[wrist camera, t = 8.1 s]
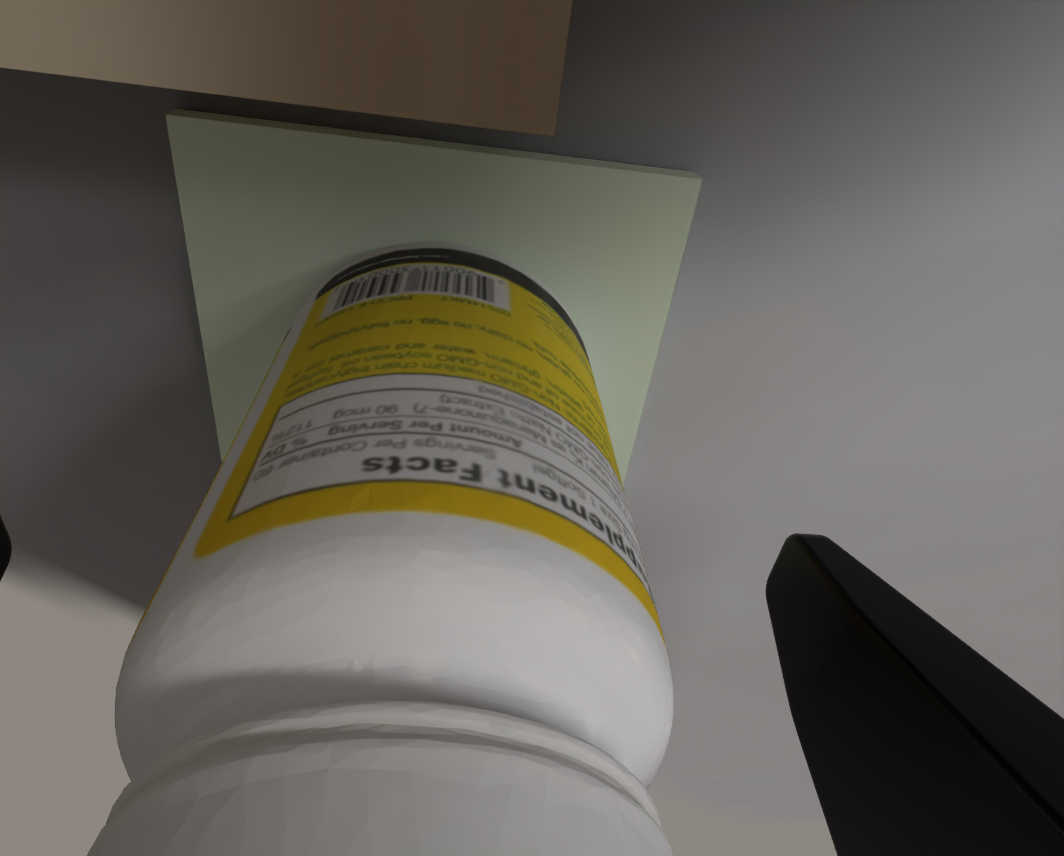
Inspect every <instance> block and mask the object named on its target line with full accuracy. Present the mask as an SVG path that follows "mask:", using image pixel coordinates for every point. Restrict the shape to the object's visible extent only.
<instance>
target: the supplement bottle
mask: <svg viewBox="0 0 1064 856" xmlns="http://www.w3.org/2000/svg"><path fill="white" fill-rule="evenodd" d="M673 703H674V702H673V684H672V677H671V670H670V664H669V658H668V653H667V649H666V645H665V642H664V638H663V634H662V630H661V626H660V622H659V618H658V614H657V610H656V607H655V603H654V599H653V595H652V591H651V587H650V583H649V580H648V576H647V573H646V569H645V565H644V562H643V558H642V554H641V550H640V546H639V542H638V538H637V535H636V531H635V528H634V524H633V521H632V517H631V514H630V511H629V507H628V503H627V500H626V496H625V492H624V488H623V485H622V481H621V477H620V474H619V470H618V466H617V462H616V458H615V454H614V450H613V447H612V443H611V439H610V436H609V432H608V428H607V424H606V420H605V416H604V412H603V408H602V405H601V401H600V398H599V395H598V391H597V387H596V383H595V380H594V376H593V373H592V370H591V365H590V361H589V358H588V355H587V352H586V349H585V346H584V343H583V340H582V337H581V335H580V333H579V330H578V328H577V327H576V325H575V323H574V321H573V319H572V317H571V316H570V314H569V312H568V311H567V309H566V308H565V307H564V305H563V304H562V303H561V301H560V300H559V299H558V298H557V297H556V296H555V295H554V293H553V292H552V291H551V290H550V289H549V288H547V287H546V286H545V285H544V284H543V283H542V282H541V281H539V280H538V279H537V278H536V277H535V276H533V275H532V274H530V273H528V272H527V271H525V270H524V269H522V268H521V267H519V266H518V265H516V264H514V263H512V262H510V261H508V260H506V259H505V258H502V257H500V256H497V255H495V254H493V253H490V252H487V251H484V250H481V249H478V248H475V247H472V246H466V245H461V244H456V243H448V242H414V243H407V244H400V245H394V246H390V247H386V248H383V249H379V250H376V251H374V252H371V253H369V254H366V255H364V256H362V257H359V258H357V259H355V260H353V261H352V262H350V263H348V264H347V265H345V266H343V267H342V268H340V269H339V270H337V271H336V272H335V273H333V274H332V275H331V276H329V277H328V278H327V279H326V280H325V281H323V282H322V283H321V284H320V286H319V287H318V288H317V289H316V290H315V291H314V292H313V293H312V294H311V295H310V296H309V298H308V299H307V300H306V302H305V303H304V305H303V306H302V308H301V309H300V311H299V312H298V314H297V316H296V318H295V320H294V321H293V323H292V325H291V327H290V329H289V331H288V333H287V335H286V336H285V338H284V340H283V342H282V345H281V346H280V348H279V350H278V351H277V353H276V356H275V358H274V360H273V363H272V365H271V367H270V368H269V370H268V372H267V374H266V376H265V378H264V380H263V382H262V384H261V386H260V388H259V391H258V393H257V395H256V397H255V399H254V401H253V403H252V405H251V407H250V409H249V411H248V413H247V415H246V417H245V419H244V421H243V423H242V425H241V427H240V429H239V431H238V433H237V435H236V437H235V439H234V441H233V443H232V445H231V447H230V449H229V451H228V453H227V455H226V457H225V458H224V460H223V462H222V464H221V466H220V468H219V470H218V472H217V474H216V476H215V478H214V480H213V482H212V484H211V486H210V488H209V490H208V492H207V494H206V496H205V498H204V500H203V502H202V504H201V506H200V508H199V509H198V511H197V513H196V515H195V517H194V519H193V521H192V523H191V525H190V527H189V529H188V530H187V532H186V534H185V536H184V538H183V540H182V542H181V544H180V546H179V548H178V550H177V551H176V553H175V555H174V557H173V559H172V561H171V563H170V565H169V567H168V569H167V571H166V573H165V574H164V576H163V578H162V580H161V582H160V584H159V586H158V588H157V590H156V592H155V593H154V595H153V597H152V599H151V601H150V603H149V605H148V607H147V609H146V611H145V613H144V614H143V616H142V618H141V620H140V622H139V624H138V627H137V629H136V631H135V633H134V635H133V638H132V640H131V642H130V644H129V646H128V649H127V651H126V654H125V657H124V661H123V665H122V668H121V672H120V676H119V680H118V683H117V687H116V700H115V729H116V735H117V742H118V747H119V750H120V753H121V757H122V760H123V763H124V766H125V768H126V770H127V773H128V776H129V778H130V779H131V782H130V783H129V784H128V785H127V786H126V787H125V788H124V790H123V791H122V793H121V795H120V796H119V798H118V799H117V801H116V802H115V804H114V806H113V807H112V810H111V812H110V815H109V817H108V820H107V822H106V825H105V826H104V827H103V828H102V830H101V832H100V833H99V835H98V837H97V839H96V840H95V842H94V844H93V846H92V847H91V849H90V851H89V852H88V855H87V856H673V853H672V850H671V848H670V845H669V843H668V840H667V838H666V836H665V834H664V833H663V831H662V829H661V822H660V818H659V814H658V812H657V809H656V806H655V803H654V802H653V800H652V798H651V797H650V795H649V794H648V792H647V791H646V789H647V788H648V786H649V785H650V783H651V782H652V780H653V778H654V777H655V775H656V773H657V771H658V769H659V767H660V764H661V762H662V760H663V758H664V754H665V751H666V748H667V745H668V741H669V738H670V733H671V728H672V723H673Z"/></svg>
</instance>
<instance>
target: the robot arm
mask: <svg viewBox="0 0 1064 856" xmlns="http://www.w3.org/2000/svg"><path fill="white" fill-rule="evenodd" d="M11 550H12V548H11V540H10V537H9V535H8V532H7V530H6V528H5V525H4V523H3V520H2V518H1V515H0V581H1V579H2V577H3V575H4V572H5V570H6V568H7V566H8V564H9V561H10V557H11ZM766 600H767V605H768V609H769V614H770V619H771V623H772V628H773V633H774V637H775V642H776V647H777V651H778V656H779V660H780V665H781V670H782V674H783V679H784V684H785V688H786V693H787V697H788V701H789V706H790V710H791V714H792V717H793V721H794V724H795V727H796V731H797V734H798V737H799V740H800V743H801V746H802V749H803V752H804V755H805V758H806V761H807V764H808V767H809V770H810V773H811V777H812V780H813V783H814V786H815V789H816V792H817V795H818V798H819V801H820V804H821V807H822V810H823V813H824V816H825V819H826V822H827V825H828V828H829V831H830V834H831V837H832V840H833V843H834V846H835V849H836V852H837V855H838V856H1064V718H1062V717H1061V716H1060V715H1058V714H1057V713H1056V712H1054V711H1053V710H1052V709H1050V708H1049V707H1048V706H1047V705H1045V704H1044V703H1043V702H1041V701H1040V700H1039V699H1037V698H1036V697H1035V696H1034V695H1032V694H1031V693H1030V692H1028V691H1027V690H1026V689H1024V688H1023V687H1022V686H1021V685H1019V684H1018V683H1017V682H1015V681H1014V680H1013V679H1011V678H1010V677H1009V676H1008V675H1006V674H1005V673H1004V672H1002V671H1001V670H1000V669H998V668H997V667H996V666H995V665H993V664H992V663H991V662H989V661H988V660H987V659H985V658H984V657H983V656H981V655H980V654H979V653H978V652H976V651H975V650H974V649H972V648H971V647H970V646H968V645H967V644H966V643H965V642H963V641H962V640H961V639H959V638H958V637H957V636H955V635H954V634H953V633H952V632H950V631H949V630H948V629H946V628H945V627H944V626H942V625H941V624H940V623H939V622H937V621H936V620H935V619H933V618H932V617H931V616H929V615H928V614H927V613H926V612H924V611H923V610H922V609H920V608H919V607H918V606H916V605H915V604H914V603H913V602H911V601H910V600H909V599H907V598H906V597H905V596H903V595H902V594H901V593H899V592H898V591H897V590H896V589H894V588H893V587H892V586H890V585H889V584H888V583H886V582H885V581H884V580H883V579H881V578H880V577H879V576H877V575H876V574H875V573H873V572H872V571H871V570H870V569H868V568H867V567H866V566H864V565H863V564H862V563H860V562H859V561H858V560H857V559H855V558H854V557H853V556H851V555H850V554H849V553H847V552H846V551H845V550H844V549H842V548H841V547H840V546H838V545H837V544H836V543H834V542H833V541H832V540H830V539H829V538H827V537H825V536H822V535H814V534H792V535H790V536H789V537H788V538H787V539H786V541H785V542H784V544H783V547H782V549H781V551H780V553H779V555H778V557H777V560H776V562H775V564H774V566H773V568H772V571H771V573H770V575H769V577H768V580H767V584H766Z"/></svg>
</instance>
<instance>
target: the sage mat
mask: <svg viewBox="0 0 1064 856" xmlns="http://www.w3.org/2000/svg"><path fill="white" fill-rule="evenodd" d="M165 116H166V122H167V128H168V134H169V140H170V147H171V153H172V159H173V165H174V171H175V177H176V184H177V190H178V196H179V202H180V208H181V214H182V221H183V227H184V233H185V239H186V245H187V251H188V258H189V264H190V270H191V276H192V282H193V288H194V295H195V301H196V307H197V313H198V319H199V325H200V332H201V338H202V344H203V350H204V356H205V362H206V369H207V375H208V381H209V387H210V393H211V399H212V406H213V412H214V418H215V424H216V430H217V436H218V443H219V449H220V455H221V461H222V462H223V460H224V458H225V457H226V455H227V453H228V451H229V449H230V447H231V445H232V443H233V441H234V439H235V437H236V435H237V433H238V431H239V429H240V427H241V425H242V423H243V421H244V419H245V417H246V415H247V413H248V411H249V409H250V407H251V405H252V403H253V401H254V399H255V397H256V395H257V393H258V391H259V388H260V386H261V384H262V382H263V380H264V378H265V376H266V374H267V372H268V370H269V368H270V367H271V365H272V363H273V360H274V358H275V356H276V353H277V351H278V350H279V348H280V346H281V345H282V342H283V340H284V338H285V336H286V335H287V333H288V331H289V329H290V327H291V325H292V323H293V321H294V320H295V318H296V316H297V314H298V312H299V311H300V309H301V308H302V306H303V305H304V303H305V302H306V300H307V299H308V298H309V296H310V295H311V294H312V293H313V292H314V291H315V290H316V289H317V288H318V287H319V286H320V284H321V283H322V282H323V281H325V280H326V279H327V278H328V277H329V276H331V275H332V274H333V273H335V272H336V271H337V270H339V269H340V268H342V267H343V266H345V265H347V264H348V263H350V262H352V261H353V260H355V259H357V258H359V257H362V256H364V255H366V254H369V253H371V252H374V251H376V250H379V249H383V248H386V247H390V246H394V245H400V244H407V243H414V242H448V243H456V244H461V245H466V246H472V247H475V248H478V249H481V250H484V251H487V252H490V253H493V254H495V255H497V256H500V257H502V258H505V259H506V260H508V261H510V262H512V263H514V264H516V265H518V266H519V267H521V268H522V269H524V270H525V271H527V272H528V273H530V274H532V275H533V276H535V277H536V278H537V279H538V280H539V281H541V282H542V283H543V284H544V285H545V286H546V287H547V288H549V289H550V290H551V291H552V292H553V293H554V295H555V296H556V297H557V298H558V299H559V300H560V301H561V303H562V304H563V305H564V307H565V308H566V309H567V311H568V312H569V314H570V316H571V317H572V319H573V321H574V323H575V325H576V327H577V328H578V330H579V333H580V335H581V337H582V340H583V343H584V346H585V349H586V352H587V355H588V358H589V361H590V365H591V370H592V373H593V376H594V380H595V383H596V387H597V391H598V395H599V398H600V401H601V405H602V408H603V412H604V416H605V420H606V424H607V428H608V432H609V436H610V439H611V443H612V447H613V450H614V454H615V458H616V462H617V466H618V470H619V474H620V477H621V481H622V485H623V484H624V480H625V477H626V473H627V469H628V465H629V461H630V457H631V454H632V450H633V446H634V442H635V438H636V434H637V430H638V427H639V423H640V419H641V415H642V411H643V407H644V404H645V400H646V396H647V392H648V388H649V384H650V381H651V377H652V373H653V369H654V365H655V361H656V357H657V354H658V350H659V346H660V342H661V338H662V334H663V331H664V327H665V323H666V319H667V315H668V311H669V308H670V304H671V300H672V296H673V292H674V288H675V284H676V281H677V277H678V273H679V269H680V265H681V261H682V258H683V254H684V250H685V246H686V242H687V238H688V234H689V231H690V227H691V223H692V219H693V215H694V211H695V208H696V204H697V200H698V196H699V192H700V188H701V185H702V181H703V179H702V178H701V177H700V176H699V175H698V174H697V173H696V172H692V171H683V170H675V169H667V168H659V167H651V166H642V165H634V164H626V163H618V162H610V161H601V160H593V159H585V158H577V157H569V156H560V155H552V154H544V153H536V152H528V151H519V150H511V149H503V148H495V147H486V146H478V145H470V144H462V143H454V142H445V141H437V140H429V139H421V138H413V137H404V136H396V135H388V134H380V133H372V132H363V131H355V130H347V129H339V128H331V127H322V126H314V125H306V124H298V123H290V122H281V121H273V120H265V119H257V118H248V117H240V116H232V115H224V114H216V113H207V112H199V111H191V110H183V109H176V110H174V111H172V112H170V113H168V114H166V115H165Z"/></svg>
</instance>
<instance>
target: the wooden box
mask: <svg viewBox="0 0 1064 856" xmlns="http://www.w3.org/2000/svg"><path fill="white" fill-rule="evenodd" d="M572 3H573V0H0V67H1V68H9V69H17V70H25V71H33V72H41V73H49V74H57V75H65V76H73V77H81V78H89V79H97V80H105V81H113V82H121V83H129V84H137V85H145V86H153V87H161V88H169V89H177V90H185V91H193V92H201V93H209V94H217V95H225V96H233V97H241V98H249V99H257V100H265V101H273V102H281V103H289V104H297V105H305V106H313V107H321V108H329V109H337V110H345V111H353V112H361V113H369V114H377V115H385V116H393V117H401V118H409V119H417V120H425V121H433V122H441V123H449V124H457V125H465V126H473V127H481V128H489V129H497V130H505V131H513V132H521V133H529V134H537V135H545V136H553V137H554V135H555V128H556V121H557V113H558V106H559V99H560V91H561V84H562V77H563V69H564V62H565V55H566V47H567V40H568V33H569V25H570V18H571V11H572Z"/></svg>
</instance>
